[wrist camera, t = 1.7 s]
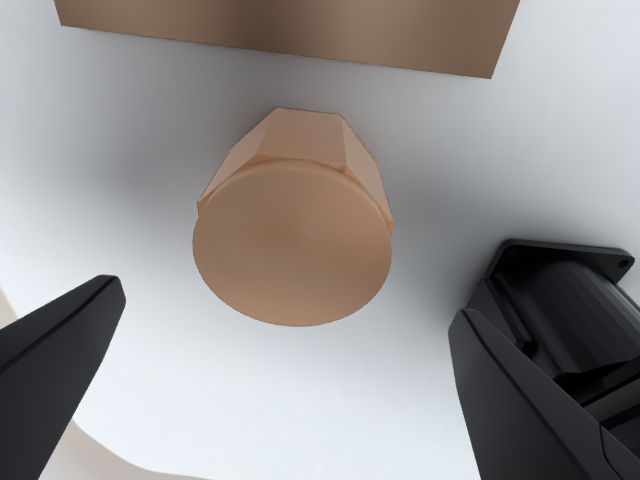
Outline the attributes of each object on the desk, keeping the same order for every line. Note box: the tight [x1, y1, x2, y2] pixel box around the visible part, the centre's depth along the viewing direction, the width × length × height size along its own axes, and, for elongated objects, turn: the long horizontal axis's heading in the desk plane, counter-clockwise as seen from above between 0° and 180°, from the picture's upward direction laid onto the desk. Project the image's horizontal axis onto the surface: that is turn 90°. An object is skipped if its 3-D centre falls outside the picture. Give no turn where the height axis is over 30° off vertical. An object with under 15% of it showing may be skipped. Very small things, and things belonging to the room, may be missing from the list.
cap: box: [193, 107, 394, 327], centre depth 13 cm, size 6×6×6 cm
